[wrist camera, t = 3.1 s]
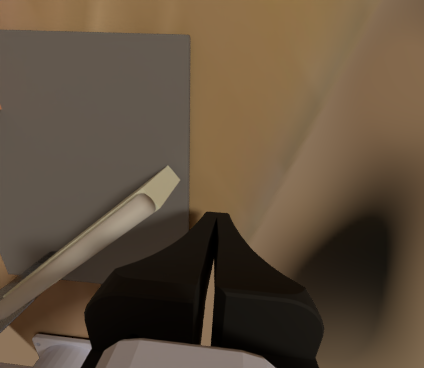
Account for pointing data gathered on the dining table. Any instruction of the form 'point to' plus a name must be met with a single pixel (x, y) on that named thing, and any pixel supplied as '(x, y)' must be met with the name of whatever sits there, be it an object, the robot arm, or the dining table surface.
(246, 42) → the dining table surface
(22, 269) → the mat
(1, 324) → the gate post
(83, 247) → the bar
